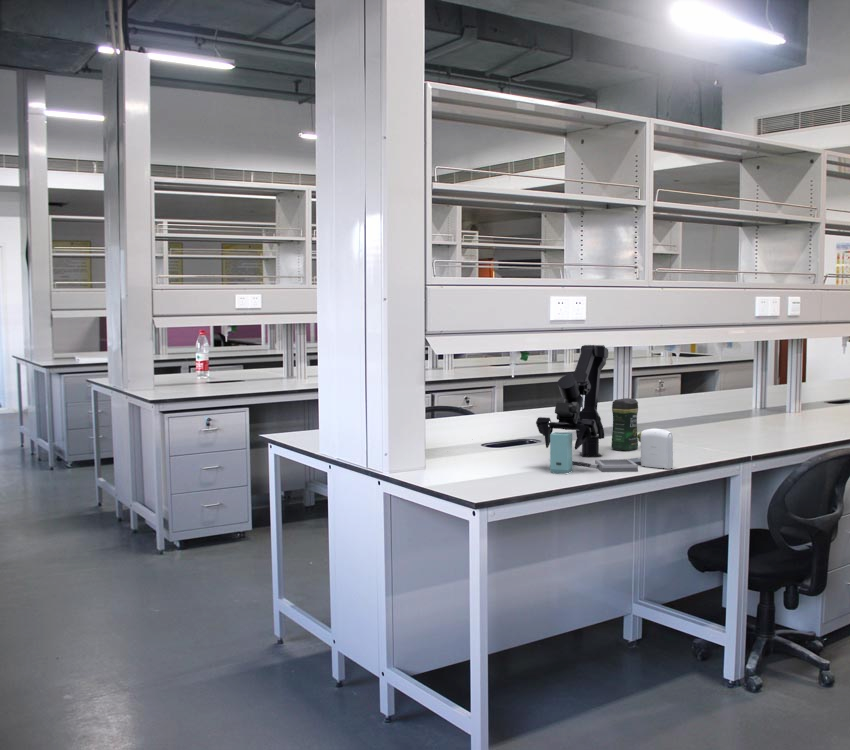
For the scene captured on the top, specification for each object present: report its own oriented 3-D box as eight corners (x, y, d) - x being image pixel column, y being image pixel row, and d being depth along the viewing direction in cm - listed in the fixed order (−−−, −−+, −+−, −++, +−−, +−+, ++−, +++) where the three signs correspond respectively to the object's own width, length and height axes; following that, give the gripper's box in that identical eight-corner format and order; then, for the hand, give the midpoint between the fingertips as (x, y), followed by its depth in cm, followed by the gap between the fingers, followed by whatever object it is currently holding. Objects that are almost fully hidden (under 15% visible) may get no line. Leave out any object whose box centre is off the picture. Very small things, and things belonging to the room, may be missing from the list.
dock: (594, 465, 261) (594, 459, 261) (629, 465, 261) (629, 459, 261) (602, 471, 250) (602, 465, 250) (637, 471, 250) (637, 465, 250)
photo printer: (638, 466, 258) (638, 428, 258) (644, 464, 262) (645, 426, 261) (668, 470, 251) (668, 430, 251) (674, 468, 255) (675, 429, 254)
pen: (562, 462, 267) (562, 459, 267) (565, 462, 268) (565, 459, 268) (596, 468, 256) (596, 465, 256) (599, 467, 257) (599, 464, 257)
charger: (555, 470, 255) (555, 432, 254) (572, 471, 252) (572, 433, 251) (550, 472, 250) (549, 434, 249) (567, 474, 247) (567, 435, 247)
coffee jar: (626, 452, 287) (626, 400, 285) (608, 449, 292) (607, 398, 291) (642, 448, 293) (642, 398, 292) (623, 446, 299) (623, 396, 298)
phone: (598, 463, 265) (598, 460, 264) (636, 461, 268) (636, 457, 268) (608, 467, 258) (608, 463, 258) (647, 464, 261) (647, 461, 261)
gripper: (537, 392, 258) (525, 430, 249) (595, 393, 250) (585, 433, 241) (545, 414, 266) (534, 452, 257) (601, 416, 257) (592, 455, 248)
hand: (560, 447), depth 250 cm, fingers open, 9 cm apart
